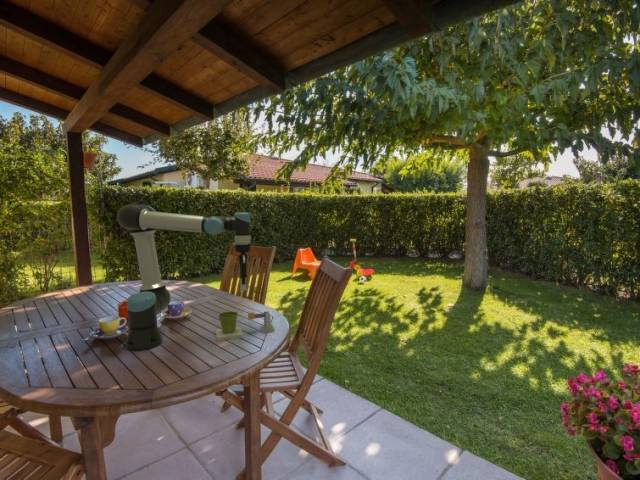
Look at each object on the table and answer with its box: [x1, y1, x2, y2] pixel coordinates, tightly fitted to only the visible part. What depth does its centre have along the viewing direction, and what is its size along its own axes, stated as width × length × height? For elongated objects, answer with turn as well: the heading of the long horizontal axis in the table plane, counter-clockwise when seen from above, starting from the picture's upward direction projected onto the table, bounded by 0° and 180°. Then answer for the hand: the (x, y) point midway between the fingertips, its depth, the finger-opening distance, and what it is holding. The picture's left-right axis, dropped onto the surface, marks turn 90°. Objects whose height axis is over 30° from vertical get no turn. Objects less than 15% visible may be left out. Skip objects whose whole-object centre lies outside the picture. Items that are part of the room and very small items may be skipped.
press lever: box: [247, 311, 270, 320], centre depth 173 cm, size 10×4×2 cm, turn 109°
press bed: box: [215, 326, 244, 342], centre depth 169 cm, size 12×11×2 cm
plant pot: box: [217, 310, 239, 333], centre depth 170 cm, size 9×9×9 cm
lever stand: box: [259, 310, 276, 334], centre depth 175 cm, size 6×7×9 cm
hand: (243, 290), depth 172 cm, fingers closed
